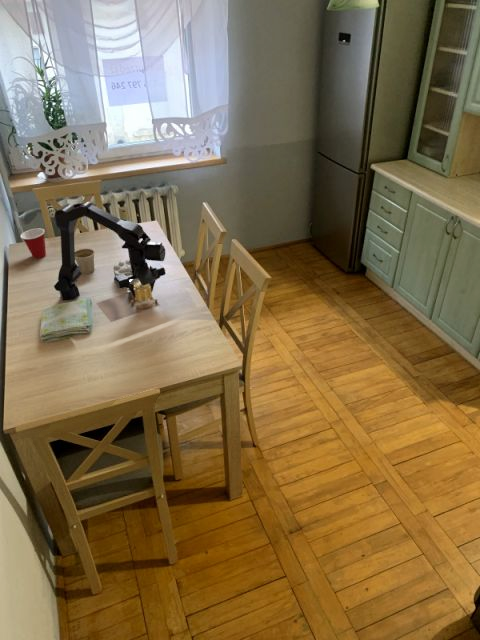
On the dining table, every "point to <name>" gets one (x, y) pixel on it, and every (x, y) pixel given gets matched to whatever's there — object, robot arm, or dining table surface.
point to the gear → (130, 294)
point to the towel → (66, 320)
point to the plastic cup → (35, 242)
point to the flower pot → (85, 260)
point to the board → (124, 306)
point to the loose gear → (142, 292)
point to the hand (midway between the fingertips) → (142, 294)
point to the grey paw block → (123, 269)
